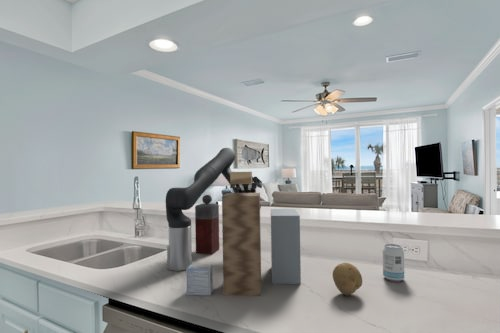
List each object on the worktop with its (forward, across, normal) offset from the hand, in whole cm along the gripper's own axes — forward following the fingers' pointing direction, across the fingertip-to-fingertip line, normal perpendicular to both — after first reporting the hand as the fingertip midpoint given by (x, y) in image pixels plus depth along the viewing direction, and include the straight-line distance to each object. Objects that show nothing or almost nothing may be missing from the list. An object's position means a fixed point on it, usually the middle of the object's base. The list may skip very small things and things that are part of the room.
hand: (244, 174), depth 109 cm
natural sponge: (-6, +34, +42) cm, 54 cm away
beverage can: (-17, +54, +35) cm, 67 cm away
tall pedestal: (-9, 0, +39) cm, 40 cm away
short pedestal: (-20, +15, +33) cm, 42 cm away
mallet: (+2, 0, +5) cm, 5 cm away
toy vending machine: (-47, -21, +18) cm, 55 cm away
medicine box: (-6, -14, +42) cm, 44 cm away
